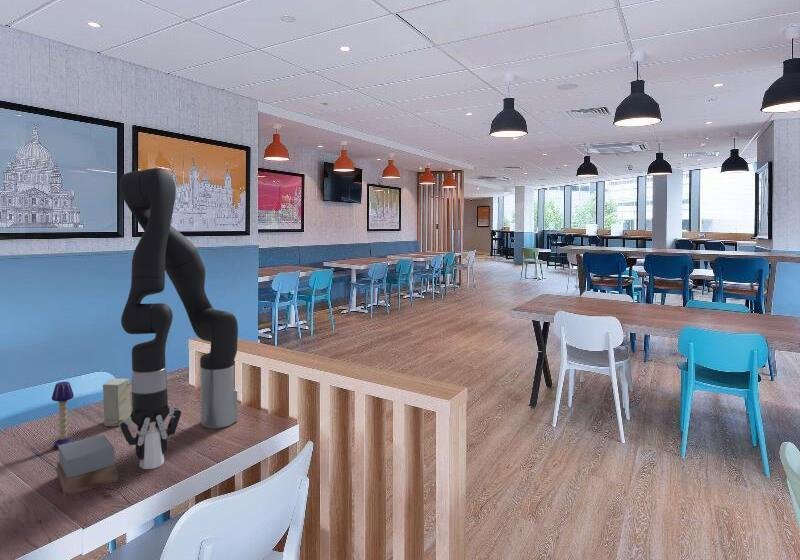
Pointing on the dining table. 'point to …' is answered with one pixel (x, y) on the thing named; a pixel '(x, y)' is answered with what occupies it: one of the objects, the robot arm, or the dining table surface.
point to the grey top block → (86, 456)
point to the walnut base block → (86, 479)
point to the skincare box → (116, 401)
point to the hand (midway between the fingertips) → (151, 455)
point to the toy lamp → (62, 410)
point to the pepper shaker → (152, 448)
